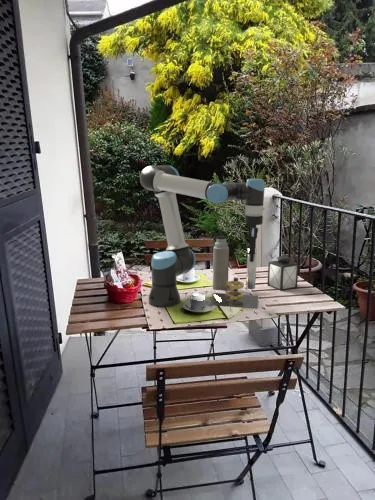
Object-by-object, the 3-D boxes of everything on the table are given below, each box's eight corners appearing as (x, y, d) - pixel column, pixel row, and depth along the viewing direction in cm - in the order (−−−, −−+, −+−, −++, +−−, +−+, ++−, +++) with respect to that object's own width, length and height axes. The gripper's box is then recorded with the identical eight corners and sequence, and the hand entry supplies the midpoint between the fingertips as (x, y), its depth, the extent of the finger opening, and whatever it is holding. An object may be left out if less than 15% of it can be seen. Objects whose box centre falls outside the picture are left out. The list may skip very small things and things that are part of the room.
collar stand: (208, 308, 188) (208, 286, 186) (213, 295, 205) (213, 275, 203) (257, 311, 184) (258, 289, 181) (258, 298, 201) (259, 277, 199)
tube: (245, 288, 184) (247, 249, 180) (246, 286, 188) (248, 247, 184) (254, 289, 183) (256, 250, 179) (255, 286, 187) (257, 248, 183)
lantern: (283, 282, 227) (285, 232, 221) (297, 288, 218) (300, 236, 212) (267, 285, 222) (269, 234, 216) (281, 291, 212) (283, 238, 206)
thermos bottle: (228, 286, 219) (229, 235, 213) (227, 291, 212) (228, 238, 206) (213, 286, 221) (214, 234, 215) (211, 290, 213) (212, 237, 207)
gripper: (262, 218, 169) (259, 272, 174) (263, 212, 185) (260, 262, 191) (244, 217, 171) (241, 271, 176) (246, 212, 187) (244, 261, 192)
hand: (251, 267), depth 183 cm, fingers closed on tube, 4 cm apart
